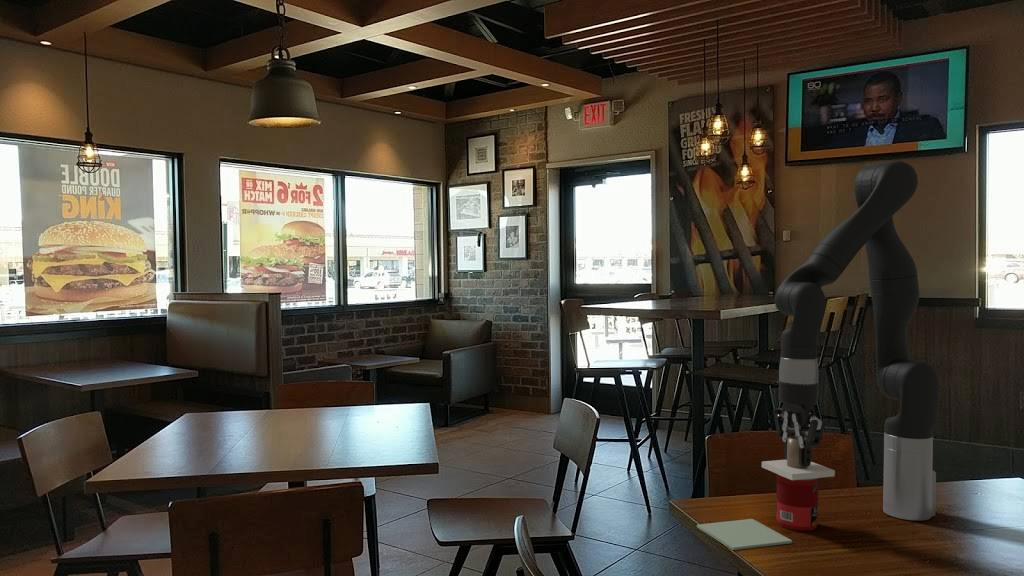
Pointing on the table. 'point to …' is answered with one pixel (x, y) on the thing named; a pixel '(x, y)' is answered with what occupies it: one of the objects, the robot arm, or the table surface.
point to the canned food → (797, 503)
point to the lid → (796, 465)
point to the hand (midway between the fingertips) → (797, 462)
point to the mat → (743, 534)
